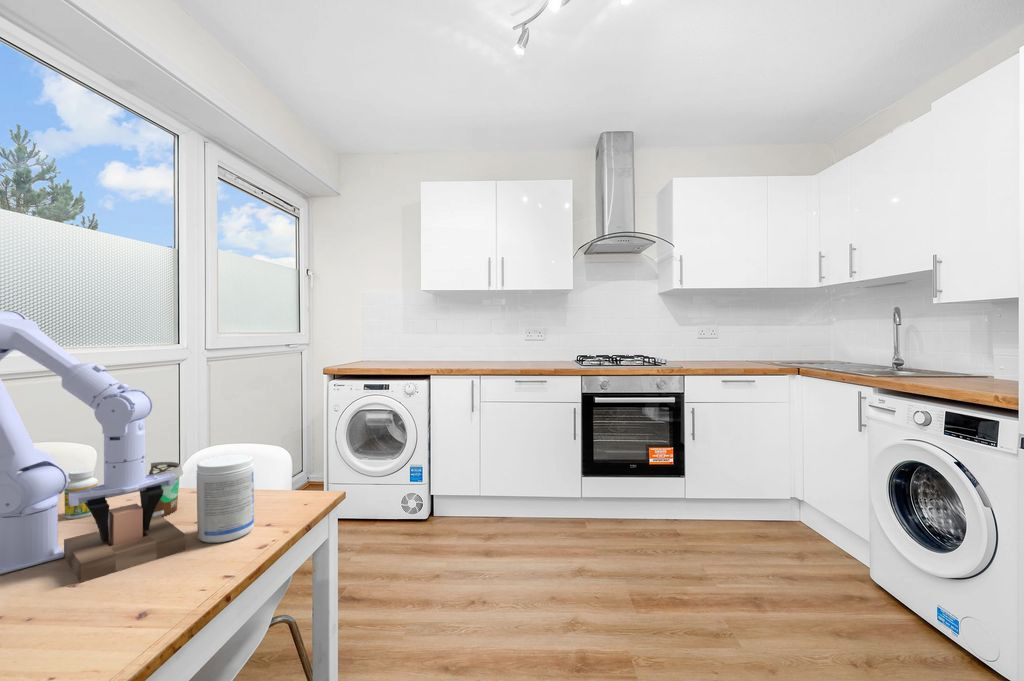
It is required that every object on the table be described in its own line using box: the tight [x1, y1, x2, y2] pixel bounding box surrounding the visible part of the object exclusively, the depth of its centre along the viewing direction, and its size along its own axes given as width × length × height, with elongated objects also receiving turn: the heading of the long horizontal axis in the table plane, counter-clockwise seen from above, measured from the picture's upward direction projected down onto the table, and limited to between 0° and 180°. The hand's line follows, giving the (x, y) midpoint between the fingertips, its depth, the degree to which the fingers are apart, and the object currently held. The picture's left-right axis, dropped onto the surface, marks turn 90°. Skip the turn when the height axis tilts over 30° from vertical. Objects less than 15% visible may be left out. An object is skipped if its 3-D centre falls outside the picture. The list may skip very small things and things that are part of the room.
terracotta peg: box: [108, 503, 143, 546], centre depth 82 cm, size 4×4×8 cm
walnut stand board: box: [63, 515, 186, 583], centre depth 82 cm, size 14×14×3 cm
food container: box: [145, 461, 184, 518], centre depth 102 cm, size 12×6×10 cm, turn 34°
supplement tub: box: [196, 454, 255, 544], centre depth 91 cm, size 10×10×15 cm
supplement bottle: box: [63, 468, 99, 520], centre depth 100 cm, size 5×5×10 cm
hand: (125, 534), depth 82 cm, fingers open, 5 cm apart
